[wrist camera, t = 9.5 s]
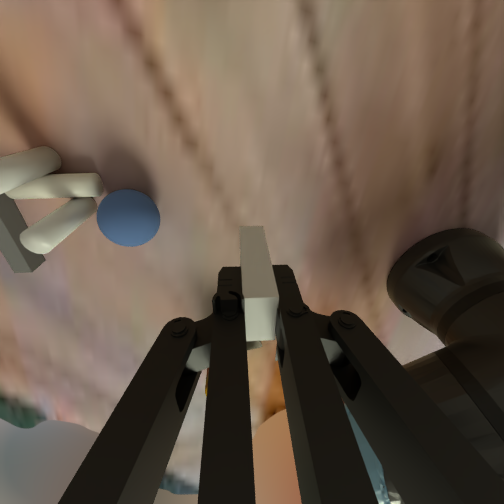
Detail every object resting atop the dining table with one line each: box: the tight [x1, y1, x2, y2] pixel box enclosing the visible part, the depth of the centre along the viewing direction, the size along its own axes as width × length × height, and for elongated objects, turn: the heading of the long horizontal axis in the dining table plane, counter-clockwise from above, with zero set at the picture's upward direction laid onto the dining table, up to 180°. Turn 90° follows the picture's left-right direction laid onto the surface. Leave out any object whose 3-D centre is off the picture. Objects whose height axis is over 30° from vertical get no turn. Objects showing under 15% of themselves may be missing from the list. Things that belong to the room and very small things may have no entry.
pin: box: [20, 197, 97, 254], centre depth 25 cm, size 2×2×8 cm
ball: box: [97, 189, 160, 247], centre depth 26 cm, size 6×6×6 cm
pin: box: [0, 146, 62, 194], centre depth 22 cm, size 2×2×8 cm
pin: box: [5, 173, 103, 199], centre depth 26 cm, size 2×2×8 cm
